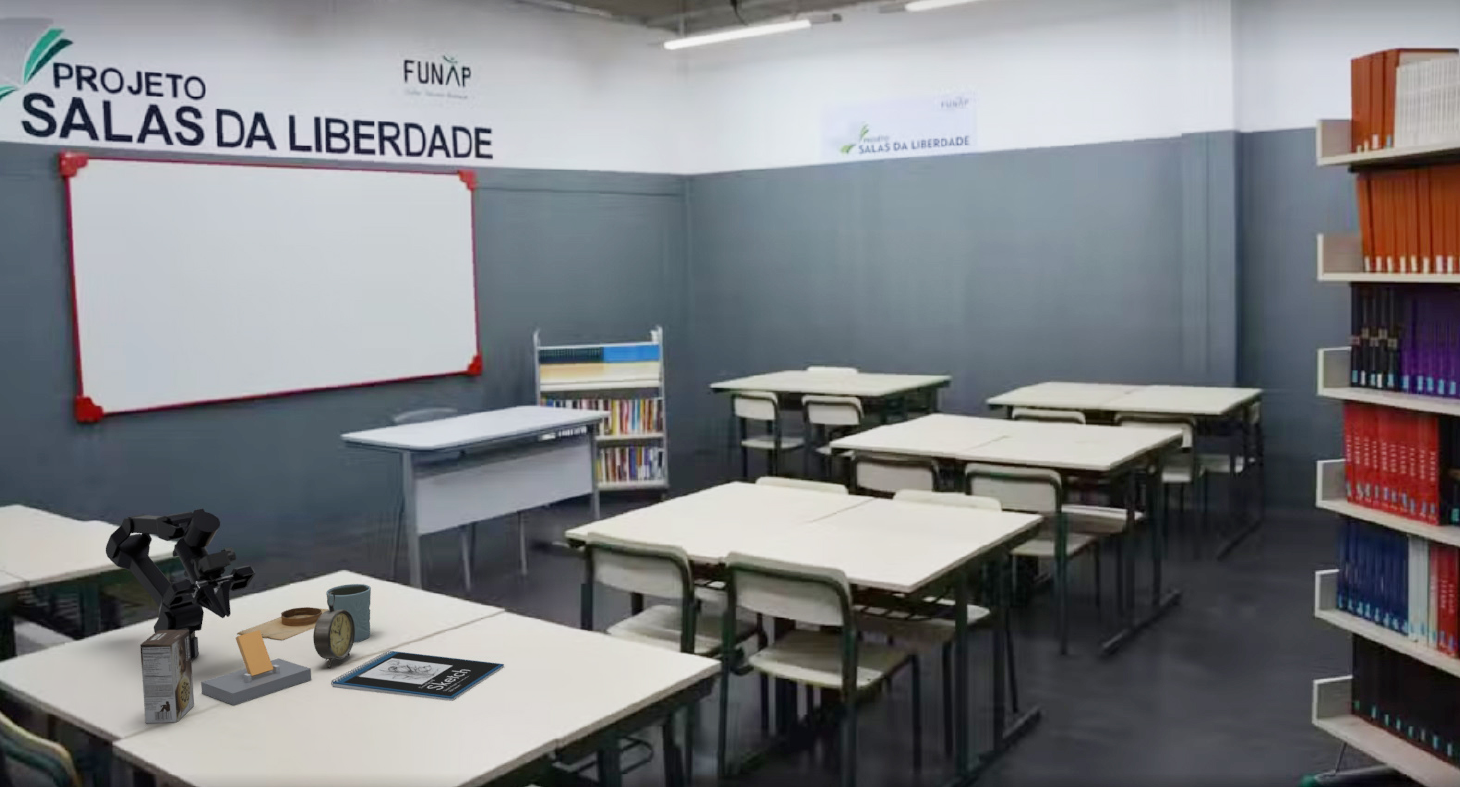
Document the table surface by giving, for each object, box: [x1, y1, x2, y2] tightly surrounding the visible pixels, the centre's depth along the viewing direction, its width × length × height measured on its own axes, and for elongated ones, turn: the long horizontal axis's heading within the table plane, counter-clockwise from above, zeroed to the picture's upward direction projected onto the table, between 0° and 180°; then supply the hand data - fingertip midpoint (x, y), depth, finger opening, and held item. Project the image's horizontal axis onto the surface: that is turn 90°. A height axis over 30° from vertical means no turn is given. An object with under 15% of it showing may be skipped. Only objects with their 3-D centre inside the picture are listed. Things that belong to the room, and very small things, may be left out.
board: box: [236, 606, 329, 642], centre depth 289 cm, size 25×15×3 cm, turn 158°
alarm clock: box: [312, 592, 355, 669], centre depth 258 cm, size 11×5×16 cm, turn 168°
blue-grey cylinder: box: [325, 583, 372, 643], centre depth 276 cm, size 10×10×12 cm
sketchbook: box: [330, 649, 505, 702], centre depth 249 cm, size 22×30×2 cm
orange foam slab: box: [235, 630, 273, 677], centre depth 243 cm, size 1×5×9 cm, turn 143°
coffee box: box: [139, 630, 195, 724], centre depth 228 cm, size 9×6×16 cm
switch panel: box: [200, 658, 312, 706], centre depth 244 cm, size 12×18×4 cm, turn 144°
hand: (226, 616), depth 249 cm, fingers closed
